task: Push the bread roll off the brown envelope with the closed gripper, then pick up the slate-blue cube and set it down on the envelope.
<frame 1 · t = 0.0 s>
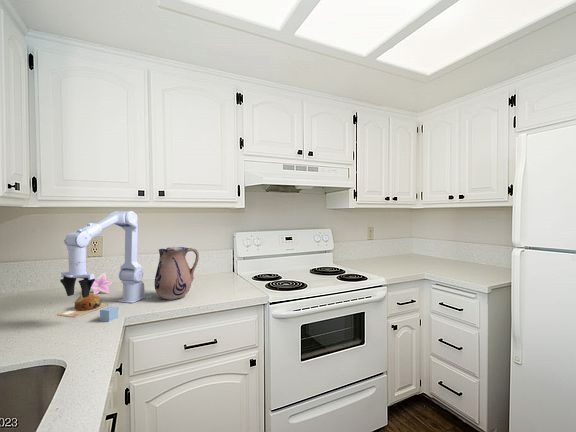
hand: (78, 296, 120), 10 cm above the countertop, tool pointing down, fingers open, 7 cm apart
lily: (99, 293, 160), on the countertop
envelope: (83, 309, 133), on the countertop
blue cube: (109, 319, 123), on the countertop
ceramic pitcher: (177, 297, 153), on the countertop
bread roll: (88, 307, 136), resting on envelope
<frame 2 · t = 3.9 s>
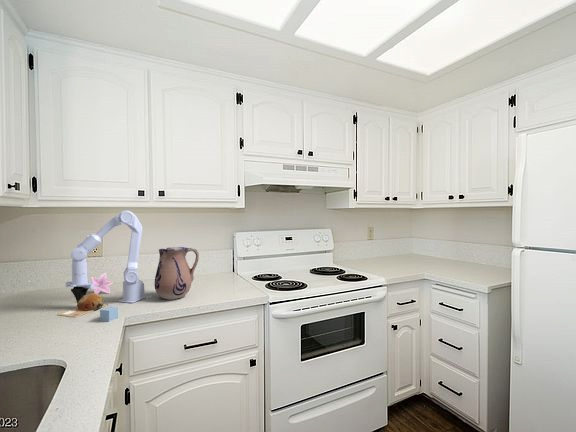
hand: (80, 303, 137), 2 cm above the countertop, tool pointing down, fingers closed
bread roll: (91, 308, 136), resting on envelope, touching gripper
everything else where it was.
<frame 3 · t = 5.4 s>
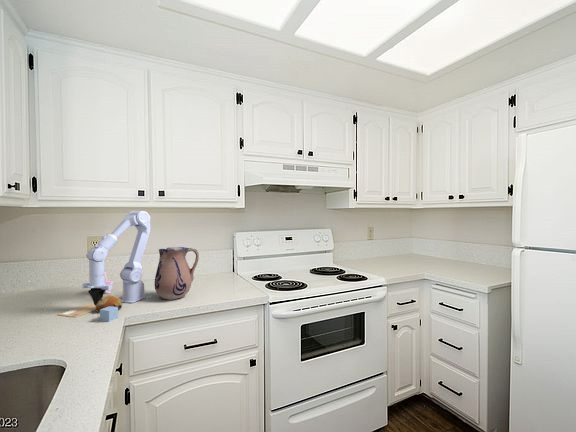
hand: (97, 304, 135), 2 cm above the countertop, tool pointing down, fingers closed
bread roll: (110, 310, 134), on the countertop, touching gripper
everything else where it was.
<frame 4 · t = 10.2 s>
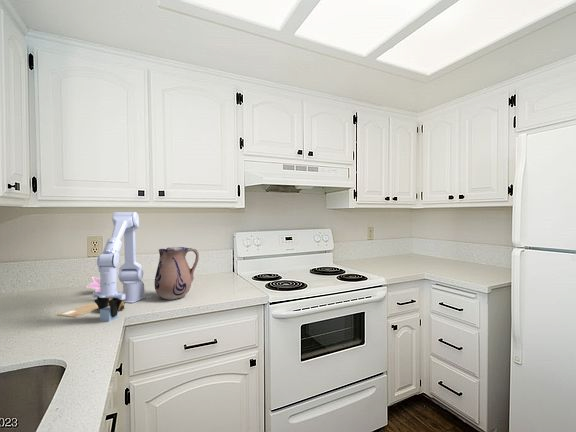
hand: (109, 315, 123), 1 cm above the countertop, tool pointing down, fingers closed on blue cube, 4 cm apart
blue cube: (109, 319, 123), on the countertop, touching gripper
bread roll: (112, 310, 134), on the countertop
everything else where it was.
when the fingers open (3 cm above the countertop, at t = 13.9 s): blue cube drops 1 cm, resting on envelope.
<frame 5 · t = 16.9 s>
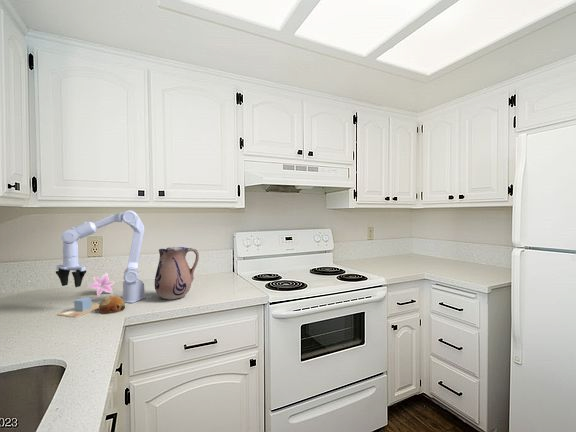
hand: (71, 286, 136), 10 cm above the countertop, tool pointing down, fingers open, 7 cm apart
blue cube: (83, 309, 133), resting on envelope
at the end: bread roll touching countertop; blue cube inside the target area on the envelope (0.2 cm from its centre), point 0.3 cm above the envelope's base; blue cube tilted 0° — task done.
